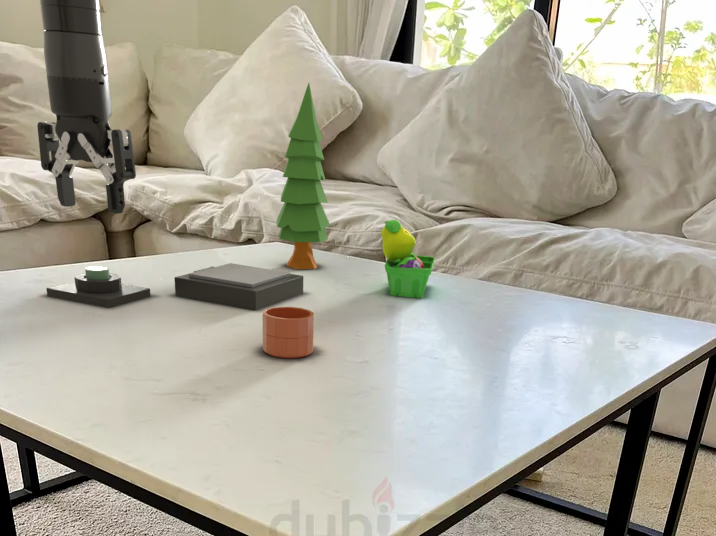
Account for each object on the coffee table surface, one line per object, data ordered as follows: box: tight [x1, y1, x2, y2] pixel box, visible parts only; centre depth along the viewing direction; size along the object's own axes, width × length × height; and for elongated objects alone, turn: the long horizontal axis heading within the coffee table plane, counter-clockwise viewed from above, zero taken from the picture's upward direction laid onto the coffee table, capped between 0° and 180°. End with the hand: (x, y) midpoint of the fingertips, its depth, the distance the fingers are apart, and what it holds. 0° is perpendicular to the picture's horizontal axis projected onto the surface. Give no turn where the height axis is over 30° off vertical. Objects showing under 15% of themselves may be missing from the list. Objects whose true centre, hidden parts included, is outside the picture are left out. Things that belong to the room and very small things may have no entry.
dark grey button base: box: [46, 272, 152, 309], centre depth 113 cm, size 11×9×3 cm
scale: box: [173, 262, 304, 311], centre depth 119 cm, size 14×14×4 cm
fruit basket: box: [381, 219, 436, 299], centre depth 127 cm, size 11×9×11 cm
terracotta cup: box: [262, 306, 315, 359], centre depth 94 cm, size 6×6×5 cm
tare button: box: [84, 265, 110, 280], centre depth 112 cm, size 3×3×2 cm
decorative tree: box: [275, 82, 330, 270], centre depth 136 cm, size 10×9×30 cm
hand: (92, 209), depth 108 cm, fingers open, 8 cm apart
